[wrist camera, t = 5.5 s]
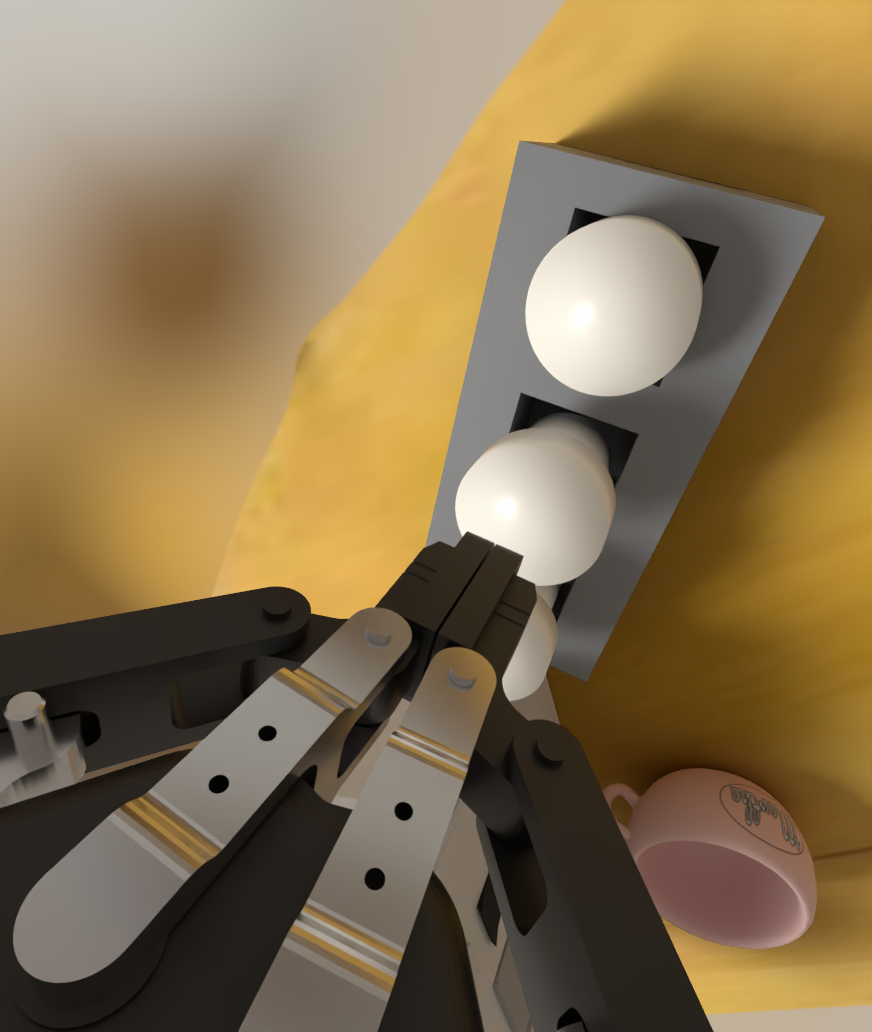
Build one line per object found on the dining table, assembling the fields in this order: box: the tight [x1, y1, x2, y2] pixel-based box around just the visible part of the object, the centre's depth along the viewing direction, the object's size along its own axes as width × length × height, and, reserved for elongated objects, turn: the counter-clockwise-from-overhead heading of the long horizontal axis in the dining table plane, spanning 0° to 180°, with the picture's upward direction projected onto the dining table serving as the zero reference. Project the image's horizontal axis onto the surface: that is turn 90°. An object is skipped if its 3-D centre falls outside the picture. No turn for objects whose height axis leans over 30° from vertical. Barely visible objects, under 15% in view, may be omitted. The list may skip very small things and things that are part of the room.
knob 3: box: [502, 584, 561, 701], centre depth 28 cm, size 6×6×6 cm
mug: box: [602, 768, 817, 949], centre depth 36 cm, size 12×10×6 cm
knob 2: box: [455, 413, 616, 586], centre depth 24 cm, size 6×6×6 cm
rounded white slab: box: [332, 675, 560, 1032], centre depth 35 cm, size 29×8×18 cm, turn 18°
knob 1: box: [525, 215, 703, 396], centre depth 22 cm, size 6×6×6 cm
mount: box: [426, 141, 825, 682], centre depth 28 cm, size 10×22×5 cm, turn 168°
